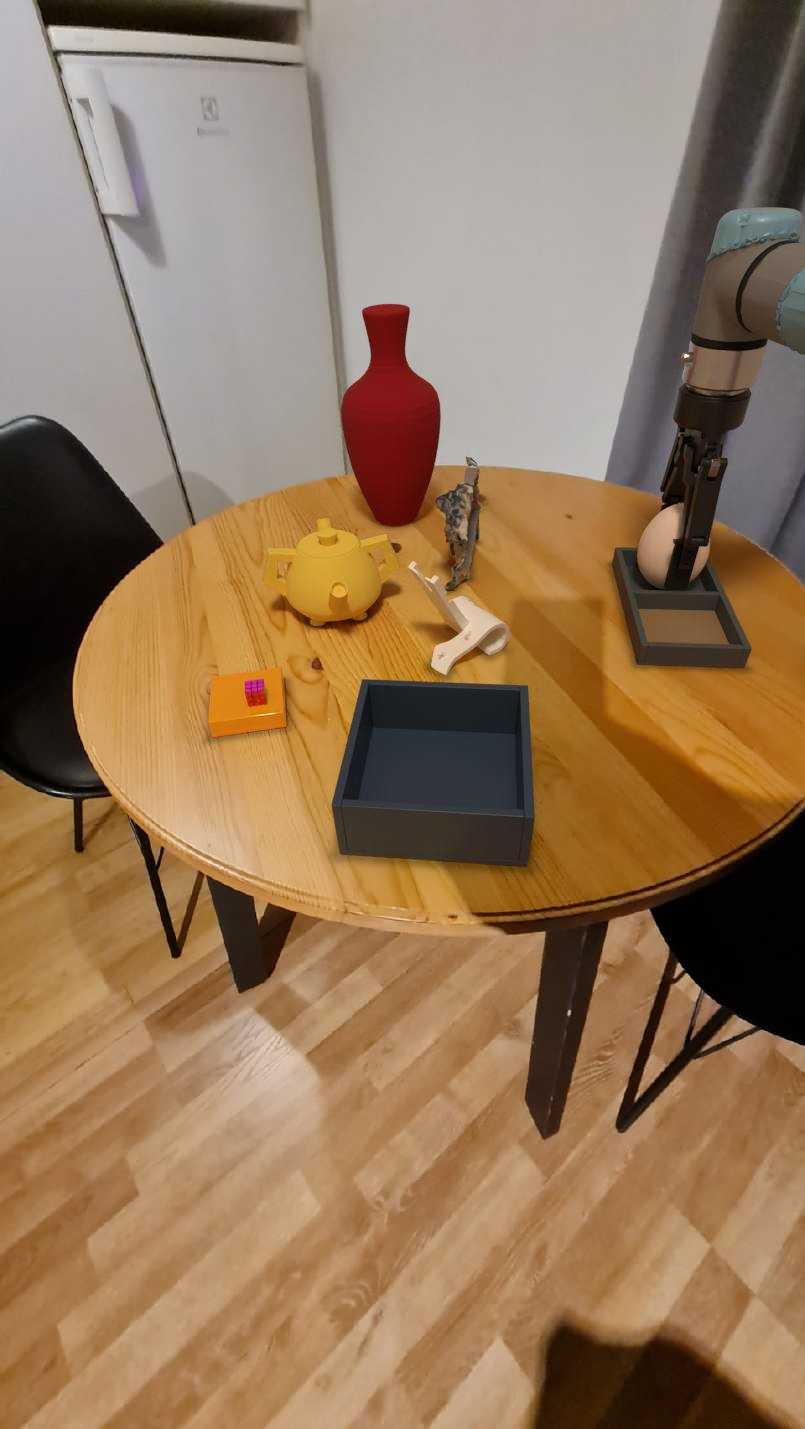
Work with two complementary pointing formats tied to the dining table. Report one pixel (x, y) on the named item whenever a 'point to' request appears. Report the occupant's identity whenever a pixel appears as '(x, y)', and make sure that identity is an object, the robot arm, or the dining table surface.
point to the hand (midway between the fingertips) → (668, 568)
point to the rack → (679, 619)
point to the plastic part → (461, 625)
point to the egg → (664, 547)
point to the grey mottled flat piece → (461, 522)
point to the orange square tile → (247, 702)
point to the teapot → (331, 573)
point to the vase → (391, 422)
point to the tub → (437, 773)
